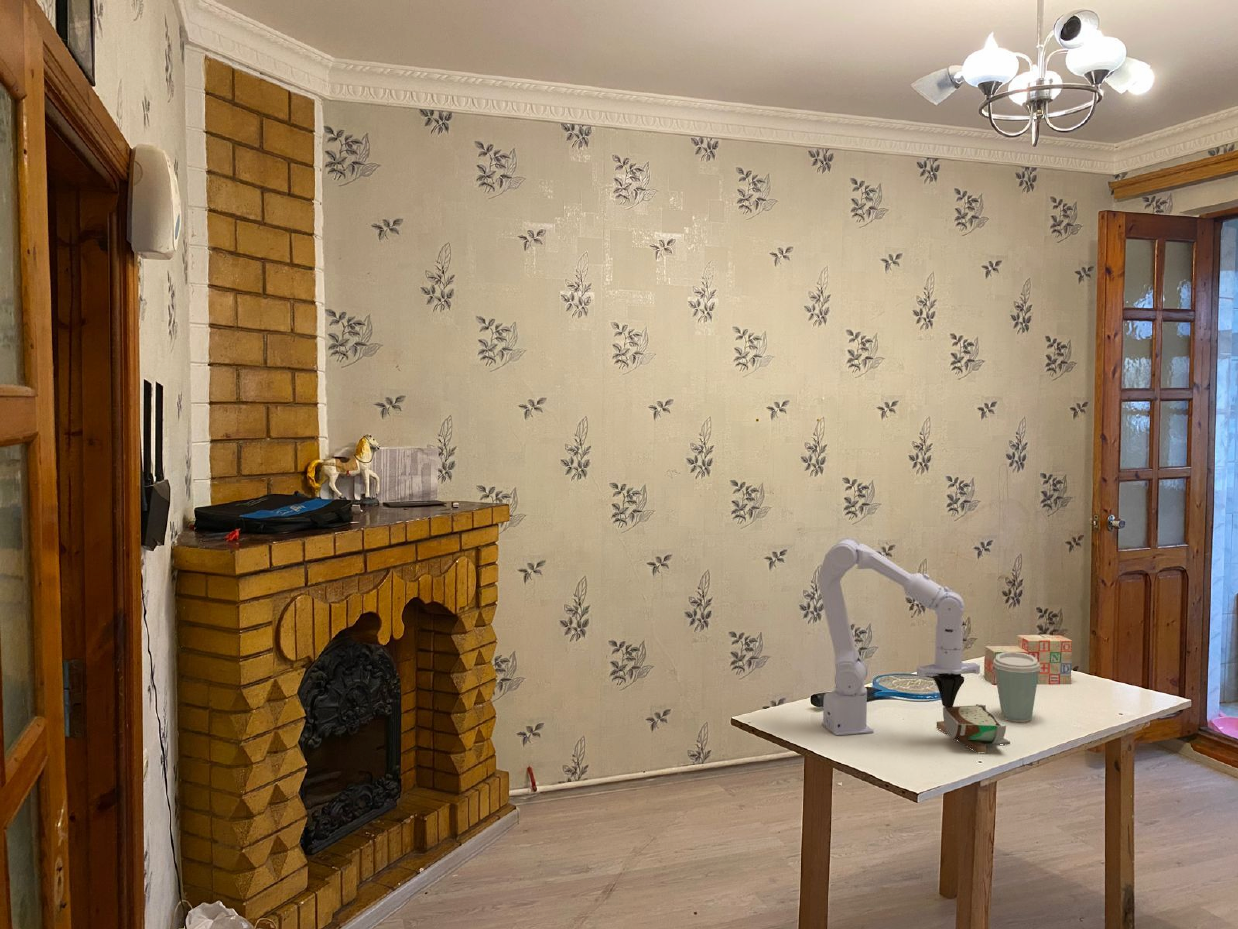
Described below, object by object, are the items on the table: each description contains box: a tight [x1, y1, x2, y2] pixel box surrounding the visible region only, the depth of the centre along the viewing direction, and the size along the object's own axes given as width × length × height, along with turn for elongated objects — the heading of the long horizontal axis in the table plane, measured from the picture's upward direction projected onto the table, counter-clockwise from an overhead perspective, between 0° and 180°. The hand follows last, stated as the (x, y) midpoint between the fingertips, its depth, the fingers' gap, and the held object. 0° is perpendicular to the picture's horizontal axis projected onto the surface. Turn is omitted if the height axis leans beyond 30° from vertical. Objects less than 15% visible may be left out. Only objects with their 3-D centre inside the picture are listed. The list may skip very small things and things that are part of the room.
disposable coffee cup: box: [993, 652, 1040, 723], centre depth 219 cm, size 11×11×15 cm
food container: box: [942, 703, 1007, 744], centre depth 203 cm, size 12×6×10 cm
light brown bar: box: [936, 720, 987, 754], centre depth 206 cm, size 2×16×2 cm, turn 12°
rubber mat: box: [977, 737, 1011, 747], centre depth 208 cm, size 8×12×1 cm, turn 12°
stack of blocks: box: [983, 634, 1073, 686], centre depth 249 cm, size 21×6×12 cm, turn 92°
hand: (947, 706), depth 204 cm, fingers closed
